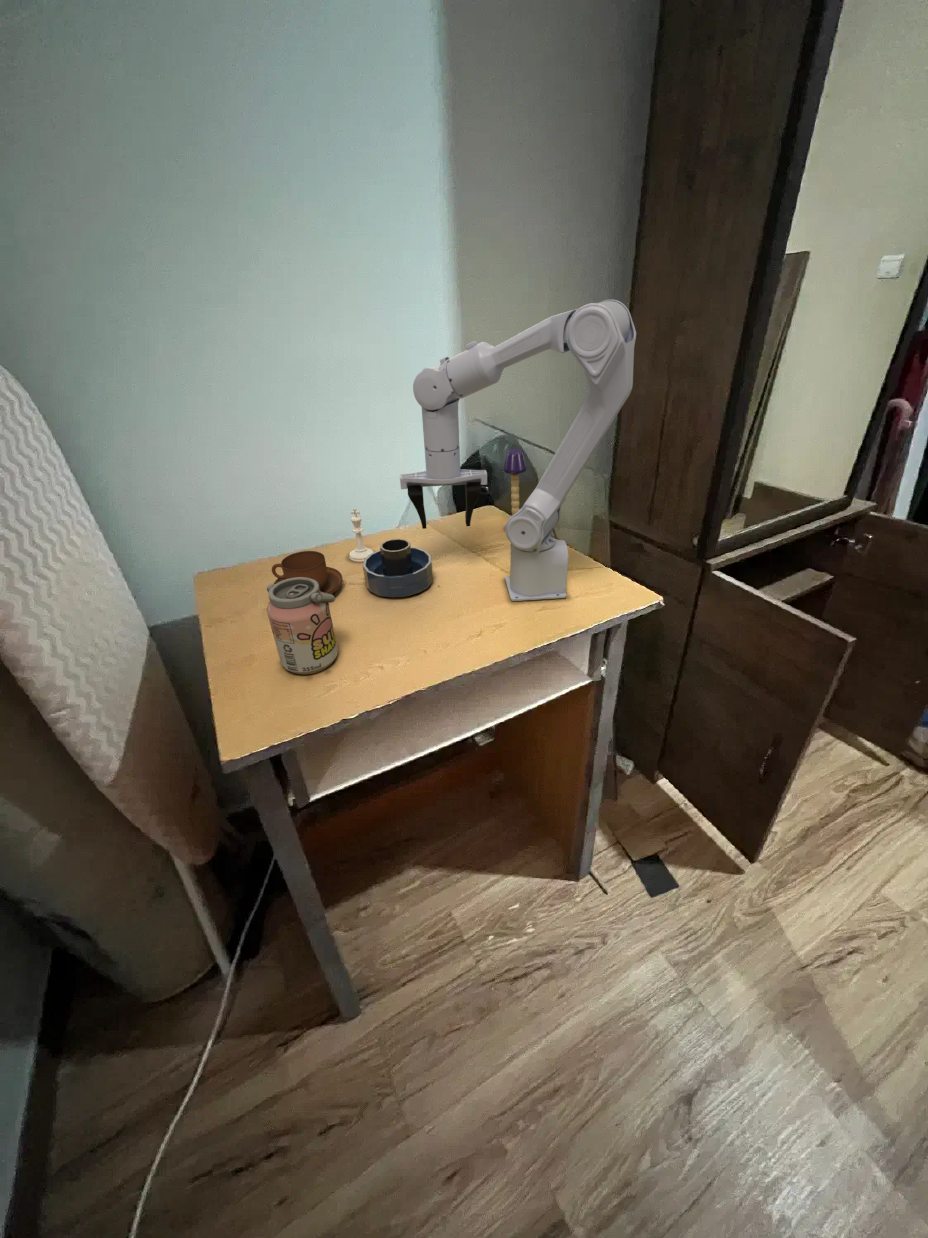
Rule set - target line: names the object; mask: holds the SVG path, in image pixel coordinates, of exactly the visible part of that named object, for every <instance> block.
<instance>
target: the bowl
mask: <svg viewBox="0 0 928 1238" xmlns="http://www.w3.org/2000/svg"><path fill="white" fill-rule="evenodd" d="M373 552H374V553H372V554H370V555H369V556H368V557H367V558H365V559H364V561H362V571H363V576H364V577H363V578H364V585H365V586H366V588H367V590H368V591H369V592H371V593H373V594H374V595H376V596H380V597H387V598H405V597H409V596H413V595H416V594H419V593H421V592H423V591H425V590H426V589H428V588H429V587H430V585H431V584H432V583H433V581H434V574H433V561H432V555H431V554H430V553H429V552H428V551H427V550H425V549H422V548H419V547H416V546H411V555H412V565H413V573H410V574H406V575H401V576H385V575H383V567H382V559H381V552H380V549H378V550H376V551H373Z"/></svg>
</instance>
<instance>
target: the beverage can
mask: <svg viewBox="0 0 928 1238" xmlns="http://www.w3.org/2000/svg"><path fill="white" fill-rule="evenodd" d="M266 591H267V592H268V593H267V594H268V598H269V603H268V604H267V606H266V613H267V618H268V621H269V625H270V628H271V632H272V635H273V639H274V642H275V646H276V650H277V653H278V657H279V660H280V664H281V666H282V667H283V668H284V669H285V670H286V671H289V672H290V673H293V674H295V675H301V676H304V675H306V676H307V675H313V674H316V673H320V672H321V671H324V670H326V669H327V668H329V667H330V666H331V665H332V664H333V663H334V661H335V660H336V659H337V656H338V652H339V648H338V644H337V639H336V633H335V629H334V625H333V619H332V615H331V614H332V613H331V608H330V604H329V603H334V602H335V600H336V597H335V595H333V594H328V593H323V592H321V591H320V588H319V584H318V582H317V581H315V580H314V579H310V578H306V577H295V578H290V579H286V580H283V581H280V582H278V583H277V584H274V583H269V584H268V585H267V586H266Z"/></svg>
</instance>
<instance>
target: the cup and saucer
mask: <svg viewBox="0 0 928 1238" xmlns="http://www.w3.org/2000/svg"><path fill="white" fill-rule="evenodd" d="M277 568H281V570H282V573H283V574H282V575H280V574H278V572H277ZM271 573H272V575H273V576H274V577H275V578H277V579H275V581H274V582H273V584H277V583H278V582H280V581H283V580H286V579H290V578H295V577H306V578H310V579H314V580H315V581H317V582H318V584H319V588H320V591H321V592H323V593H328V594H331V595H333V594H334V593H335V592H337V590H338V589H339V588H340V587H341V585H342V582H343V575H342V573H341V572H340V571H339V570H337V569H336V568H334V567H332V566H327V562H326V557H325V555H324V553H322V552H321V551H316V550H315V551H314V550H304V551H297V552H294V553H291V554H289V555H287V556H286V557H284V558H283V559H282V560H281V561H280V563H273V565H272V567H271Z"/></svg>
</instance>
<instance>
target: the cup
mask: <svg viewBox="0 0 928 1238" xmlns="http://www.w3.org/2000/svg"><path fill="white" fill-rule="evenodd" d="M411 544H412V543H411V542H410V541H409V540H408V539H404V538H390V539H387V540H383V542H381V543H380V546H379V550H380V552H381V559H382V567H383V575H385V576H401V575H406V574H410V573H413V565H412V555H411V547H412V546H411Z"/></svg>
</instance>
